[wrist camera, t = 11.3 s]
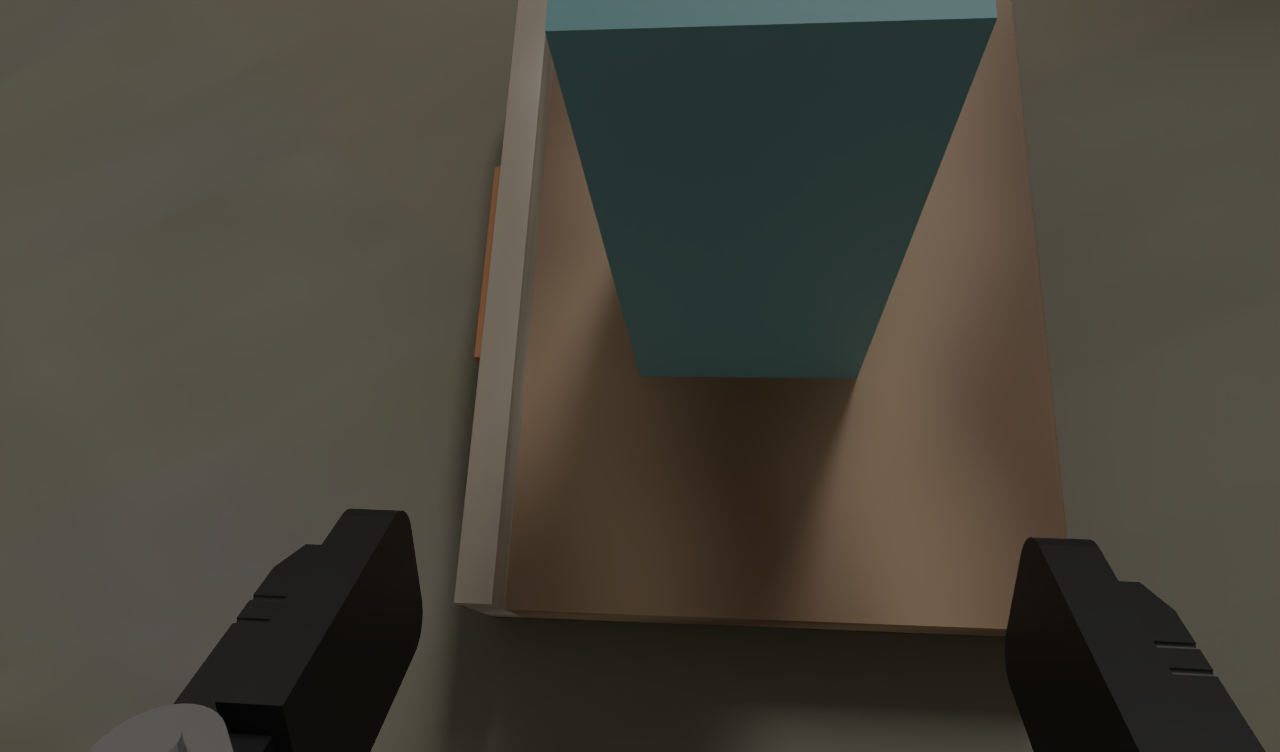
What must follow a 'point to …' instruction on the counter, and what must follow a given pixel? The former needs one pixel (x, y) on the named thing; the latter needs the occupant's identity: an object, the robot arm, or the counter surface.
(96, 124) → the counter surface
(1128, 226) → the counter surface
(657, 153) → the tea box
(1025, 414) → the shelf
